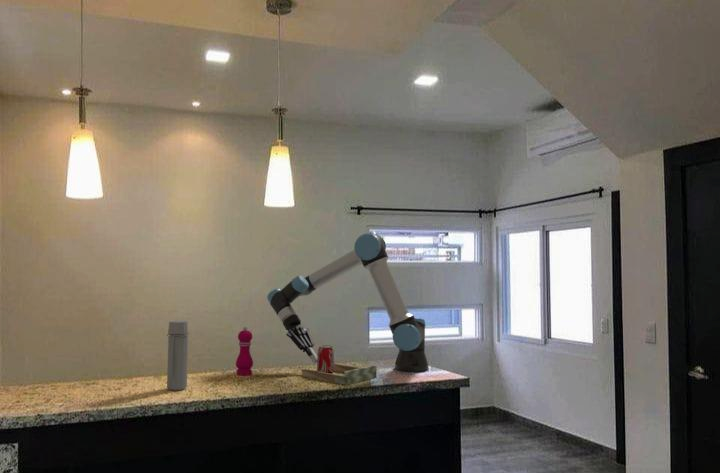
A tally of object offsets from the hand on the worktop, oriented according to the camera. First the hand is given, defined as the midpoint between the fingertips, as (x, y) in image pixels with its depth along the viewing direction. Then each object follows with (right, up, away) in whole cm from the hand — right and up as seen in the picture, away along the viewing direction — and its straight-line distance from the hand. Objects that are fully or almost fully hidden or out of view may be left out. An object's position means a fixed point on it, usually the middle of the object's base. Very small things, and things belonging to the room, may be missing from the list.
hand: (316, 361), depth 266 cm
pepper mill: (-30, -5, -5) cm, 31 cm away
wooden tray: (+10, -5, -7) cm, 13 cm away
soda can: (+4, -5, -3) cm, 7 cm away
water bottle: (-50, -3, -37) cm, 62 cm away
